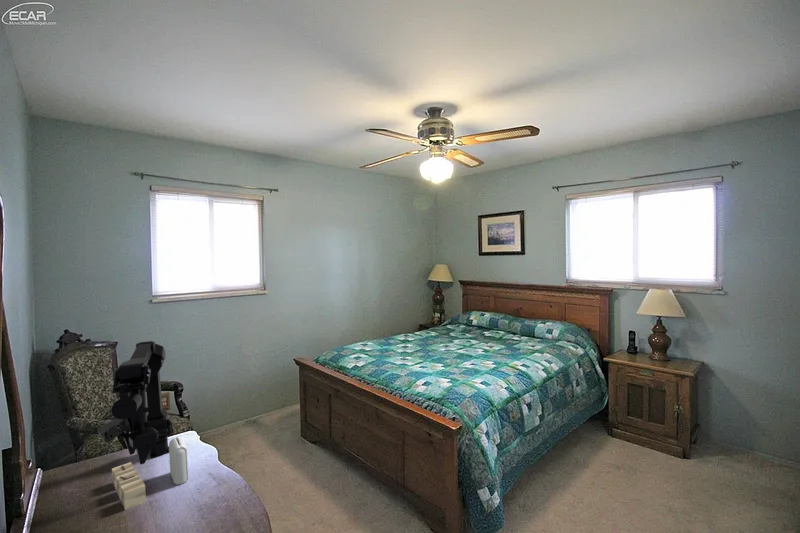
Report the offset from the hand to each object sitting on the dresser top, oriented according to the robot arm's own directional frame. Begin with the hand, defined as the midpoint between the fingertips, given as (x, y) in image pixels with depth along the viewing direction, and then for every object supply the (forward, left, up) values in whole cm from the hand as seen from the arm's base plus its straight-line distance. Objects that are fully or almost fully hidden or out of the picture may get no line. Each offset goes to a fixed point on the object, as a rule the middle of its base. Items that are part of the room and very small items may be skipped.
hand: (137, 458), depth 110 cm
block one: (-14, -1, -13) cm, 19 cm away
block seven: (-7, -1, -13) cm, 14 cm away
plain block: (0, -1, -13) cm, 13 cm away
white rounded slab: (-4, +12, -13) cm, 18 cm away
